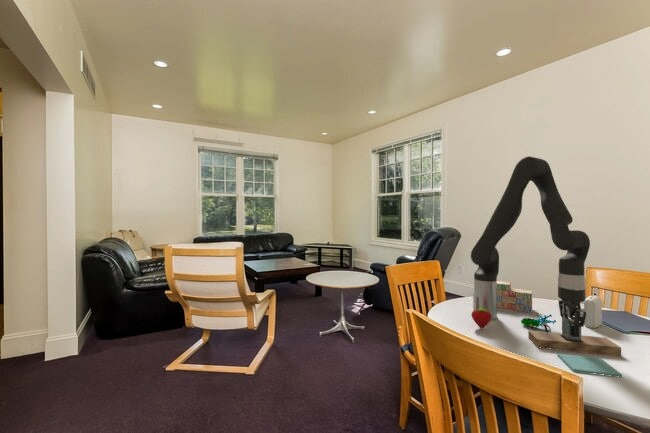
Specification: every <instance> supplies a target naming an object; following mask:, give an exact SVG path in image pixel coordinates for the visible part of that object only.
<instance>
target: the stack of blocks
mask: <svg viewBox="0 0 650 433" xmlns="http://www.w3.org/2000/svg"><path fill="white" fill-rule="evenodd" d="M511 284H512V283H511V282H510V281H501V280H500V281H499V280H497V308H501V309H509V310H514V311H518V312H519V311H521V312H525V313H532V311H533V290H528V289H527V290H525V289H520V288H512V285H511Z"/></svg>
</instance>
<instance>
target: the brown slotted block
mask: <svg viewBox="0 0 650 433" xmlns="http://www.w3.org/2000/svg"><path fill="white" fill-rule="evenodd" d="M527 336H528V339H529V341H530V340H531V341H532V342H533V343H532V342H531V341H530V342H531V343H532V344H533V345H534V346H535V348H537V347H541V348H540V349H544V348H551V349H550V350H554V349H558V350H557V351H564V350H565V351H566V352H572V353H573V352H574V353H575V352H576V353H585V354H594V355H604V356H613V357H622V347H621V346H619V345H618V344H616V342H613V341H612V340H610V339H609V338H607V337H601V336H592V335H591V336H590V335H583V334H581V342H574V341H566V340H565V339H564V338H563V337H562V333H560V332H549V331H548V332H546V331H535V330H528V335H527Z"/></svg>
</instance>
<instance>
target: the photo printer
mask: <svg viewBox="0 0 650 433" xmlns="http://www.w3.org/2000/svg"><path fill="white" fill-rule="evenodd" d="M583 311H584V312H586V318H585V322H584V326H585V327H586V328H589V329H596V328H598V327H599V326H601V325H602V324H603V301H602V299H601V298H600V297H599V296H597V295H590V296H588V297H585V301H584V302H583Z"/></svg>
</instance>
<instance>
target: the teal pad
mask: <svg viewBox="0 0 650 433" xmlns="http://www.w3.org/2000/svg"><path fill="white" fill-rule="evenodd" d="M556 356H557V358H558V359H560V360H561V362H562V363H564V365H566V366H567V367H568V369H570V370H571V371H572V372H573V371H576V372H575V373H582V374H583V373H584V374H589V373H596V374H595V375H598V374H604V375H603V376H606V375H611V376H610V377H614V376H619V377H618V378H623V374H622V373H621V372H620V371H618V370H617V369H616V368H614V366H612V365H610V364H609V363H608V362H607V361H605V360H604V359H603V358H602V357H601V358H600V357H593V356H584V355H574V354H564V353H556Z"/></svg>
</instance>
